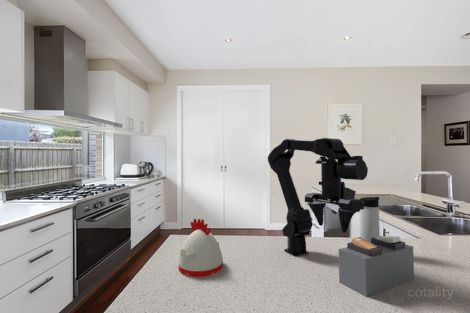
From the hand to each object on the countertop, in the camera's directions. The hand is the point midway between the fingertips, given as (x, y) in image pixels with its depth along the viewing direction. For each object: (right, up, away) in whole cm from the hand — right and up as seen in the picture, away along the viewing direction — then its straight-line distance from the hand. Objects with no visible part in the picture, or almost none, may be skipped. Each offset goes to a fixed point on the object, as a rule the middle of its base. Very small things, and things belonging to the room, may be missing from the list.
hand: (332, 228), depth 76 cm
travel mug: (+19, -13, +13) cm, 26 cm away
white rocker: (+13, -1, -6) cm, 15 cm away
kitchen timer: (-41, -13, +2) cm, 43 cm away
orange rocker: (+4, -1, -10) cm, 11 cm away
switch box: (+9, -12, -9) cm, 17 cm away
